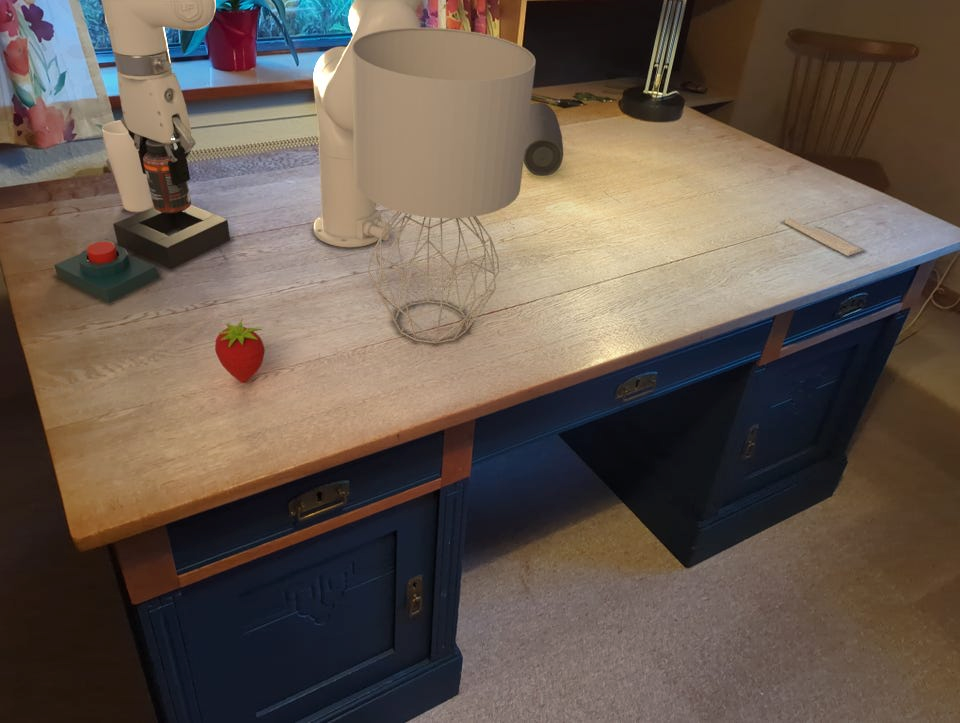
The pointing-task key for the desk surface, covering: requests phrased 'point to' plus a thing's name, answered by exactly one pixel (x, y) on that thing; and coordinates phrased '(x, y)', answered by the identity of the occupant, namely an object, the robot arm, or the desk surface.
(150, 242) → the socket block
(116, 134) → the drinking glass
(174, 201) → the supplement bottle
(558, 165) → the bluetooth speaker
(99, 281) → the switch box
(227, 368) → the strawberry
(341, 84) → the robot arm
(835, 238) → the thin wooden strip
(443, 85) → the table lamp
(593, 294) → the desk surface
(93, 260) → the switch button
